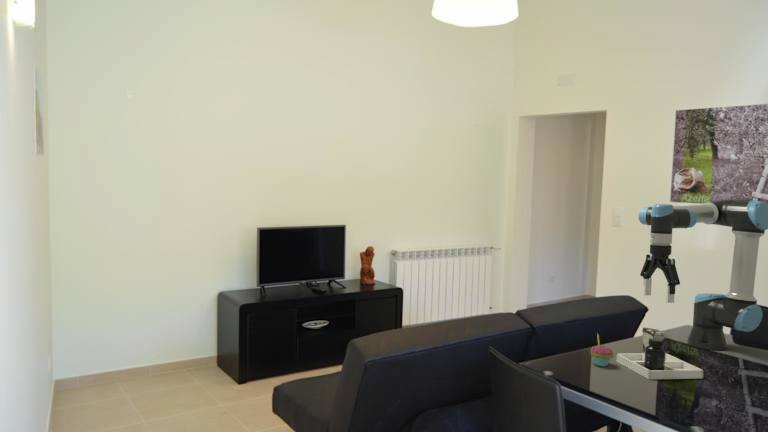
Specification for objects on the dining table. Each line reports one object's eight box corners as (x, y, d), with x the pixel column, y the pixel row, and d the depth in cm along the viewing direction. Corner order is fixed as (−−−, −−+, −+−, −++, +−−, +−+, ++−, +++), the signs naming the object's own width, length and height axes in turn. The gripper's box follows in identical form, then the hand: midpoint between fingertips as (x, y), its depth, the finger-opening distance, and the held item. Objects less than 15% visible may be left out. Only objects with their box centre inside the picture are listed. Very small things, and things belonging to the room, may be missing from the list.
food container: (669, 360, 235) (670, 335, 234) (653, 359, 235) (655, 334, 234) (655, 351, 247) (657, 327, 246) (640, 350, 247) (642, 327, 247)
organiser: (665, 360, 234) (665, 353, 233) (703, 378, 213) (703, 370, 212) (615, 361, 230) (616, 353, 230) (649, 379, 209) (649, 371, 209)
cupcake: (587, 365, 223) (589, 334, 223) (591, 359, 231) (592, 329, 230) (611, 369, 219) (613, 337, 219) (614, 363, 227) (616, 332, 226)
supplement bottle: (639, 369, 218) (641, 337, 217) (656, 368, 219) (658, 337, 219) (651, 375, 211) (653, 342, 211) (668, 374, 213) (670, 342, 212)
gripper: (632, 240, 238) (630, 292, 239) (674, 248, 213) (671, 306, 215) (649, 240, 239) (646, 292, 241) (692, 247, 215) (689, 305, 216)
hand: (658, 298), depth 228 cm, fingers open, 13 cm apart
